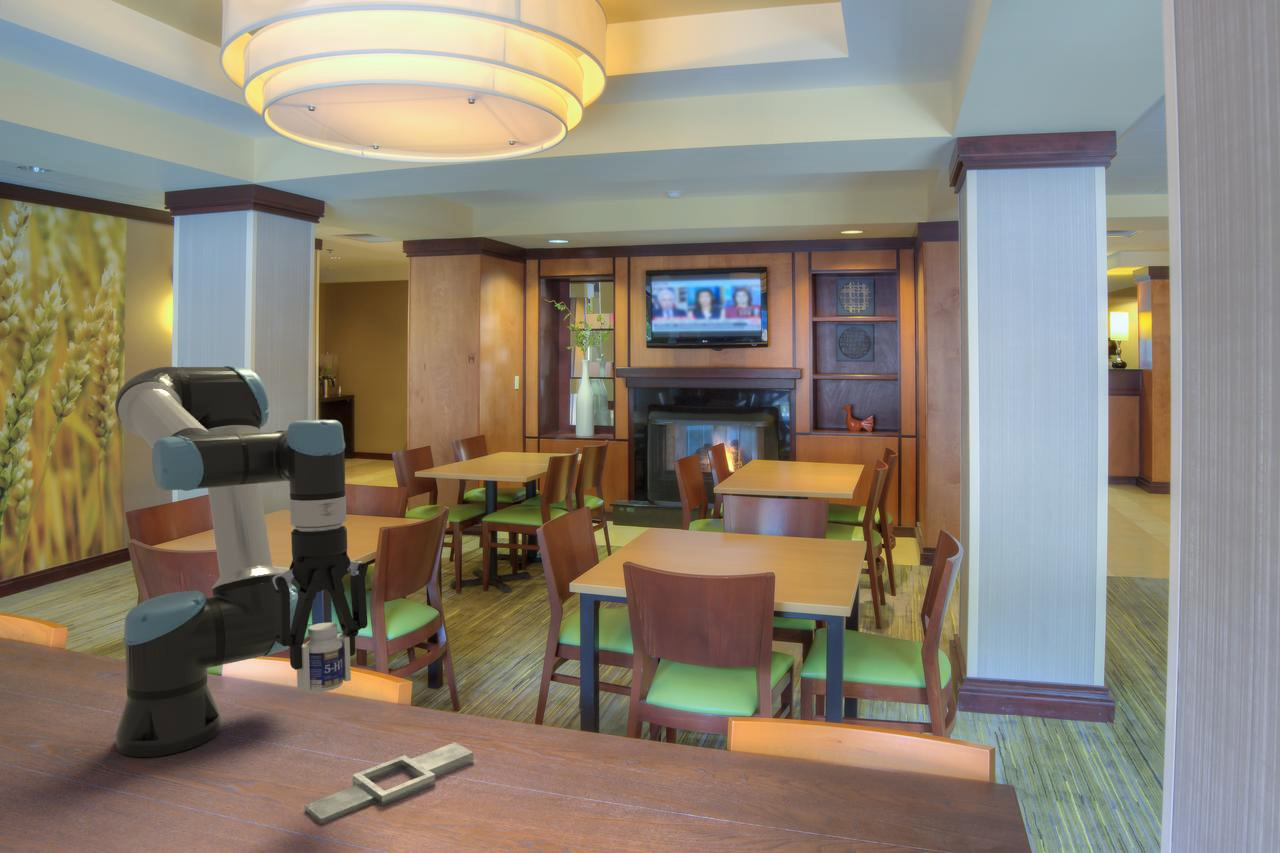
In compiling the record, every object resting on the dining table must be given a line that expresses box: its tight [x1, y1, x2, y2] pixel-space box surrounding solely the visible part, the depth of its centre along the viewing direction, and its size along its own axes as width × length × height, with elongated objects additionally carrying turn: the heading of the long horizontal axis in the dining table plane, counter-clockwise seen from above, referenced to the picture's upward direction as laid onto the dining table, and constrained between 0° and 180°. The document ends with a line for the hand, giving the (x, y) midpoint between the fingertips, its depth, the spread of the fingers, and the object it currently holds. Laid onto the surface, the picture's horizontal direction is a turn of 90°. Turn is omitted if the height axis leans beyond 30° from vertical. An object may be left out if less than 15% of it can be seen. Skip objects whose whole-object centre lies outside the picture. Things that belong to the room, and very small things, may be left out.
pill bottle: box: [304, 622, 344, 693], centre depth 120 cm, size 5×5×9 cm
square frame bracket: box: [304, 741, 474, 825], centre depth 122 cm, size 25×9×2 cm, turn 136°
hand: (324, 683), depth 120 cm, fingers closed on pill bottle, 5 cm apart
